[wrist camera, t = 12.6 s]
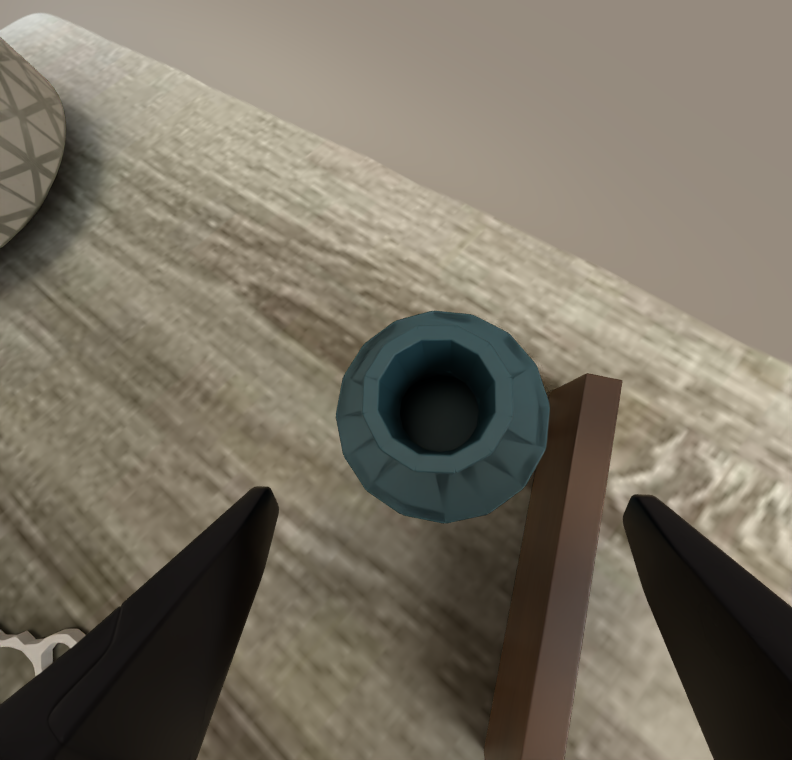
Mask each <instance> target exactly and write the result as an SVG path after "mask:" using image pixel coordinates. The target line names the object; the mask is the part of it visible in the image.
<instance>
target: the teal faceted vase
mask: <svg viewBox="0 0 792 760" xmlns="http://www.w3.org/2000/svg"><path fill="white" fill-rule="evenodd" d="M549 405H550V404H549V401H548V398H547V395H546V392H545V389H544V386H543V383H542V380H541V377H540V374H539V371H538V368H537V366H536V364H535V363H534V361H533V360H532V359H531V358H530V357H529V356H528V354H527V353H526V352H525V351H524V350H523V349H522V348H521V346H520V345H519V344H518V343H517V342H516V341H515V339H514V338H513V337H512V336H511V335H510V334H508V332H506V331H504V330H502V329H500V328H498V327H496V326H494V325H492V324H490V323H488V322H486V321H484V320H482V319H480V318H478V317H476V316H475V315H471V314H462V313H452V312H442V311H429V312H426V313H422V314H418V315H415V316H411V317H407V318H404V319H400V320H396V321H395V322H393V323H392V324H390V325H389V326H387V327H386V328H385V329H383V330H382V331H381V332H379V333H378V334H377V335H375V336H374V337H373V338H371V339H370V340H369V341H367V342H366V343H365V344H364V345H363V346H362V348H361V349H360V351H359V352H358V354H357V356H356V357H355V359H354V360H353V362H352V363H351V365H350V367H349V368H348V370H347V371H346V373H345V375H344V377H343V380H342V385H341V390H340V395H339V401H338V406H337V411H336V420H337V426H338V431H339V436H340V441H341V446H342V451H343V455H344V457H345V459H346V460H347V462H348V464H349V465H350V467H351V468H352V470H353V471H354V473H355V474H356V476H357V477H358V479H359V480H360V482H361V483H362V485H363V487H364V488H365V489H366V490H367V492H369V493H370V494H372V495H373V496H375V497H376V498H378V499H379V500H381V501H382V502H383V503H385V504H386V505H388V506H389V507H391V508H392V509H394V510H395V511H397V512H398V513H399V514H402V515H404V516H409V517H414V518H419V519H424V520H429V521H434V522H439V523H451V522H455V521H460V520H465V519H469V518H474V517H479V516H483V515H487V514H489V513H491V512H492V511H494V510H495V509H496V508H498V507H499V506H501V505H502V504H503V503H505V502H506V501H507V500H509V499H510V498H511V497H513V496H514V495H515V494H517V493H518V492H520V491H521V490H522V489H523V488H524V487H525V486H526V484H527V482H528V481H529V479H530V477H531V475H532V474H533V472H534V470H535V468H536V466H537V465H538V463H539V461H540V459H541V457H542V456H543V454H544V452H545V449H546V445H547V434H548V423H549V412H550V406H549Z"/></svg>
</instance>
